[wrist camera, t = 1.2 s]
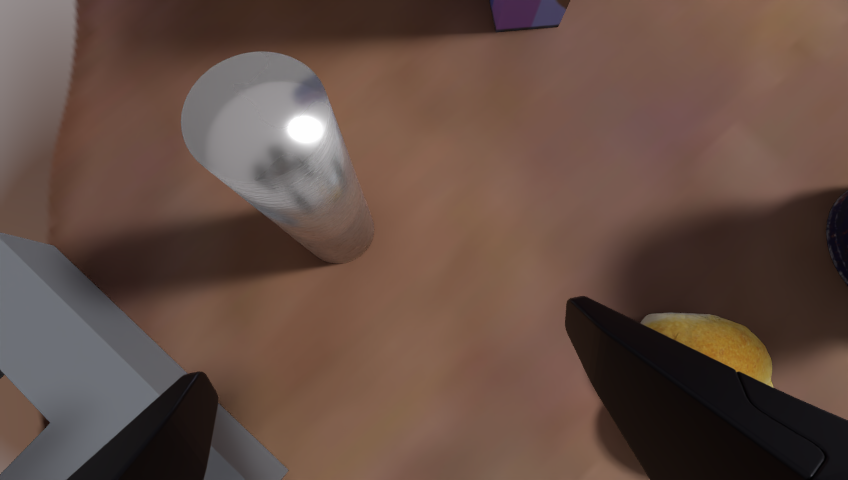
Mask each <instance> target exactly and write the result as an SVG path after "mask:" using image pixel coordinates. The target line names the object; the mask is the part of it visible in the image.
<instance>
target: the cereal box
mask: <svg viewBox="0 0 848 480" xmlns="http://www.w3.org/2000/svg"><path fill="white" fill-rule="evenodd" d="M489 2H490V7H491V11H492V16H493V21H494V26H495V31H496V32H505V31H516V30H528V29H540V28H552V27H558V26H559V24H560V21H561V19H562V17H563V15H564V13H565V11H566V8H567V6H568V4H569V2H570V0H489Z"/></svg>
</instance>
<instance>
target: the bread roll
mask: <svg viewBox="0 0 848 480" xmlns="http://www.w3.org/2000/svg"><path fill="white" fill-rule="evenodd" d="M641 324H643V325H645V326H647V327H649V328H651V329H653V330H656V331H658V332H660V333H662V334H664V335H666V336H668V337H670V338H672V339H674V340H676V341H678V342H680V343H682V344H684V345H686V346H688V347H690V348H692V349H694V350H697V351H699V352H701V353H703V354H705V355H707V356H709V357H711V358H713V359H715V360H717V361H719V362H721V363H723V364H725V365H727V366H729V367H731V368H733V369H735V370H736V372H738V371H740V372H742V373H744V374H746V375H748V376H750V377H752V378H754V379H756V380H758V381H760V382H763V383H765V384H767V385H769V386H771V387H773V385H772V382H771V374H772V360H771V357H770V356H769V354H768V352H767V350H766V347H765V345H764V344H763V343H762V342H761V341H760V340H759V339H758V338H757V337H756V336H755V335H754V334H753V333H752V332H751V331H750V330H749V329H748V328H747V327H745V326H743V325H741V324H738V323H735V322H733V321H730V320H727V319H724V318H720V317H719V316H715V315H711V314H695V313H672V312H670V313H659V314H648V315H647V316H645V317H644V319H643V320H642V321H641ZM773 388H774V387H773Z"/></svg>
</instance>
